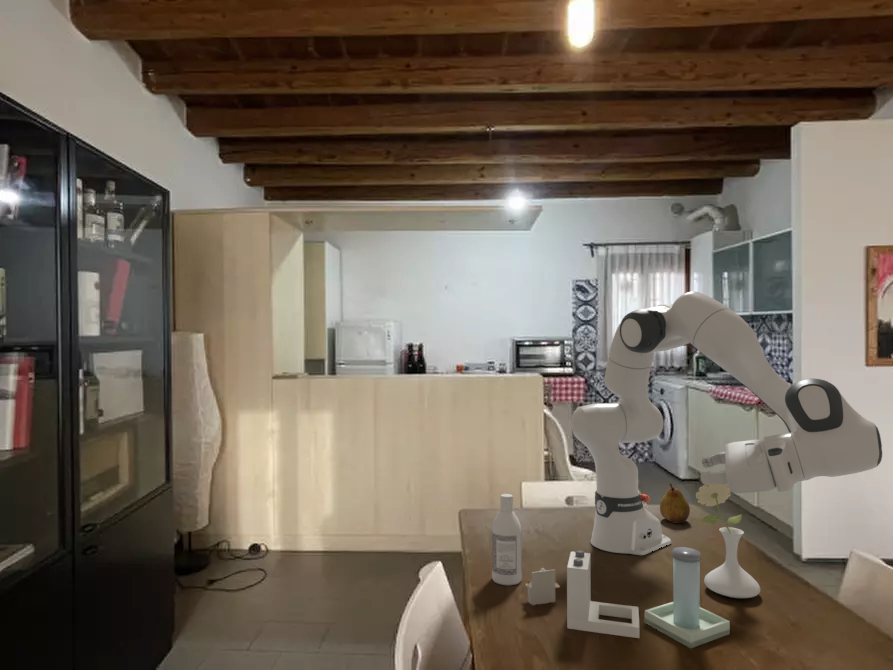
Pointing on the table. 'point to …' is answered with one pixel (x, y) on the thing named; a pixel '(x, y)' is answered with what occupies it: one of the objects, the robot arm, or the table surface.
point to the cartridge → (686, 587)
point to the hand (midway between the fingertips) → (701, 470)
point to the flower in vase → (730, 574)
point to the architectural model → (542, 587)
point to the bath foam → (506, 544)
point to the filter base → (594, 603)
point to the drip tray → (691, 638)
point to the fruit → (674, 506)
